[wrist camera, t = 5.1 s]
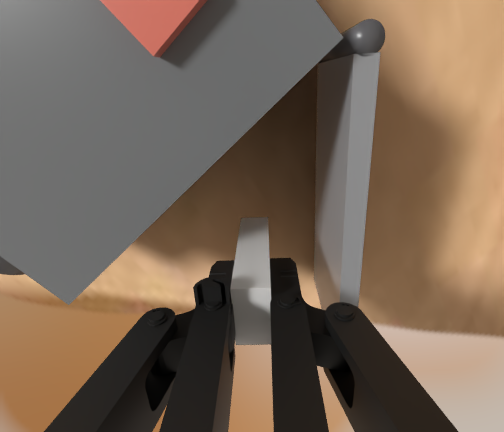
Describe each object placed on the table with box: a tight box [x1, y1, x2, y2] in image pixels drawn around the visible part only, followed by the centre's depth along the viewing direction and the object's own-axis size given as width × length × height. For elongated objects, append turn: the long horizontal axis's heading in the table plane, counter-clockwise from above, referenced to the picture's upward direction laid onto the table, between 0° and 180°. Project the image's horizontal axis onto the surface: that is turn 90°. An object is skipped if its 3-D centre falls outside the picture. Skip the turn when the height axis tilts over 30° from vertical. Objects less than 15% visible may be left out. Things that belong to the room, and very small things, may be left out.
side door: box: [314, 19, 385, 310], centre depth 15 cm, size 14×2×7 cm, turn 3°
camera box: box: [0, 0, 343, 305], centre depth 14 cm, size 17×9×9 cm, turn 133°
